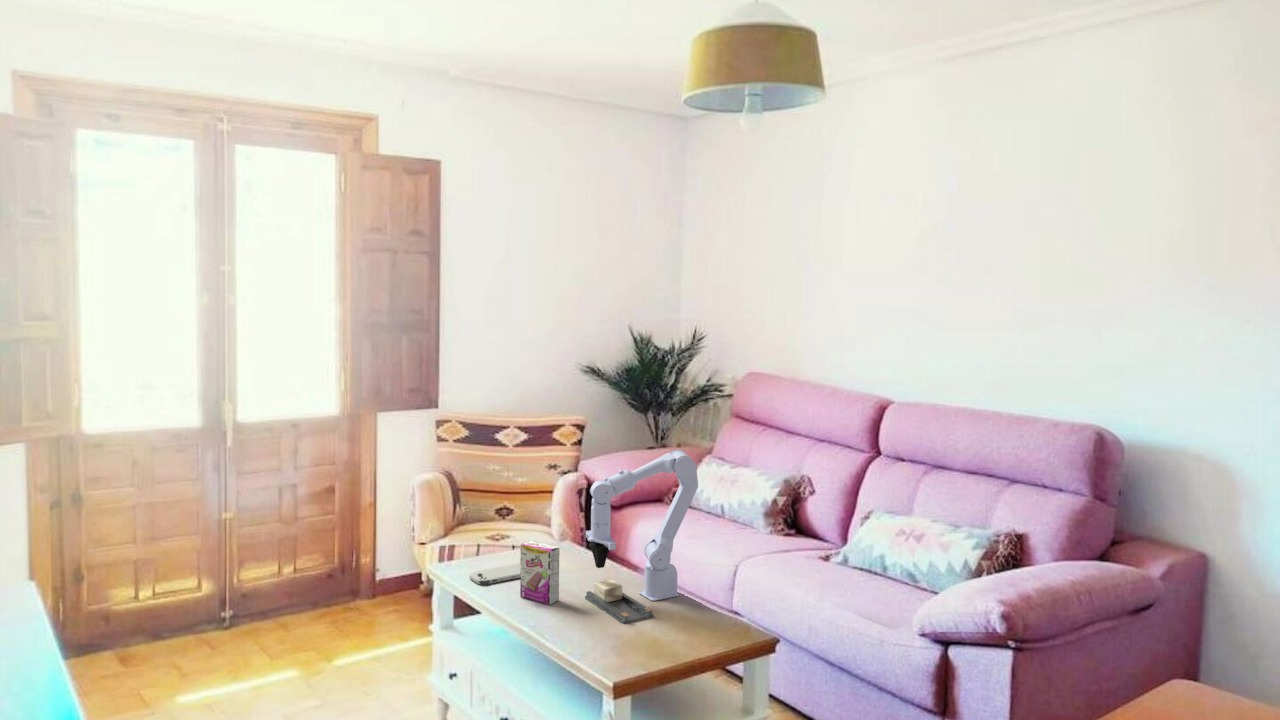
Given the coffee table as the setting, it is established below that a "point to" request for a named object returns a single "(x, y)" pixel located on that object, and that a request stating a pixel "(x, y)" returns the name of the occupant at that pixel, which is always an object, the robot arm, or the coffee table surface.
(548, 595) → the candy bar box
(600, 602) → the chute
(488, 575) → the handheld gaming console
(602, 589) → the block
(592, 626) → the coffee table surface
